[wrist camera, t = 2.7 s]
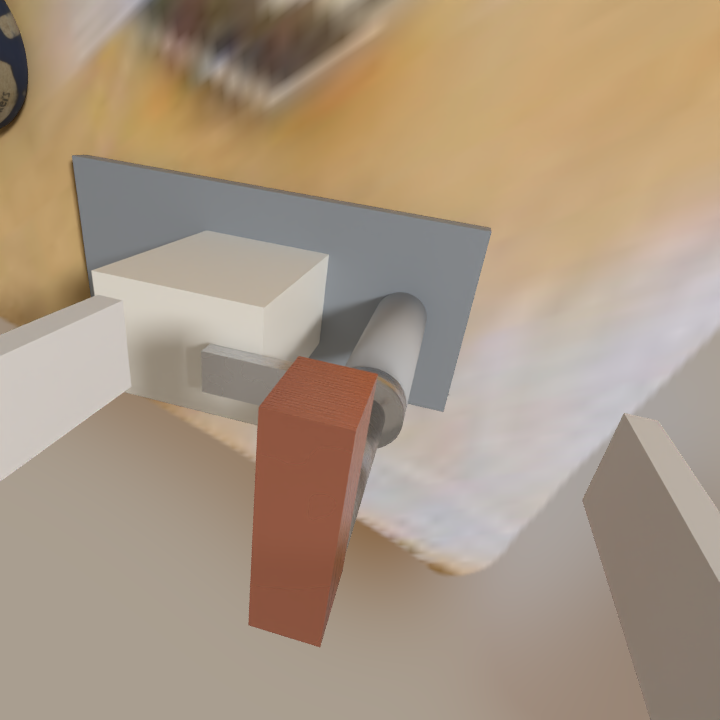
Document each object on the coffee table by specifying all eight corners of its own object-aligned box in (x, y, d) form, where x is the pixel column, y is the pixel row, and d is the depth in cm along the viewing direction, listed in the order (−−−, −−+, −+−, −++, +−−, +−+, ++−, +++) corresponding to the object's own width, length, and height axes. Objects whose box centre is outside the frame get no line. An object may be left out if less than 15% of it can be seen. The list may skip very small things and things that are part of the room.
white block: (207, 318, 32) (106, 387, 23) (206, 230, 29) (91, 270, 20) (319, 343, 31) (258, 425, 22) (328, 254, 28) (264, 307, 19)
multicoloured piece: (211, 394, 21) (25, 577, 12) (209, 236, 18) (-45, 332, 9) (399, 440, 20) (343, 677, 11) (434, 281, 17) (394, 440, 8)
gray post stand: (106, 324, 35) (-38, 399, 25) (86, 154, 30) (-110, 162, 20) (444, 402, 32) (432, 524, 22) (490, 228, 26) (503, 282, 16)
